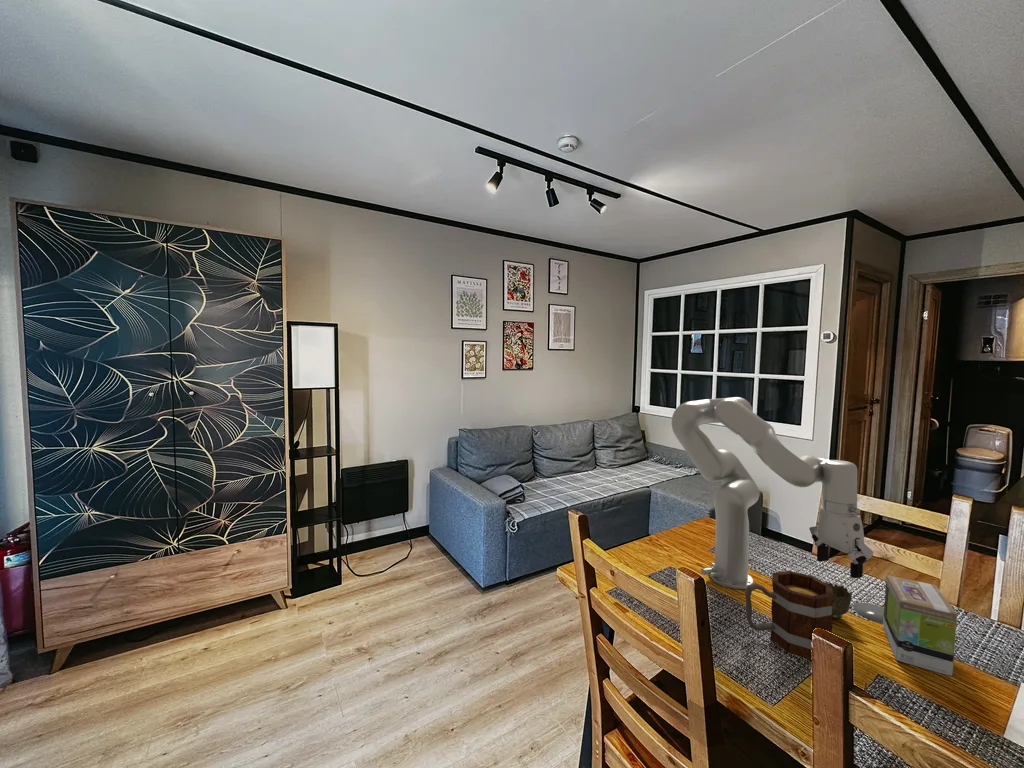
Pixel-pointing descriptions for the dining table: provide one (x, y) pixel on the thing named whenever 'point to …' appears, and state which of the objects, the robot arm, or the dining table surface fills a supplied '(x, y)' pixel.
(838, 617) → the cup
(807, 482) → the robot arm
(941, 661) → the tea box
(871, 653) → the dining table surface
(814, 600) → the mug
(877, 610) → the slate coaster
